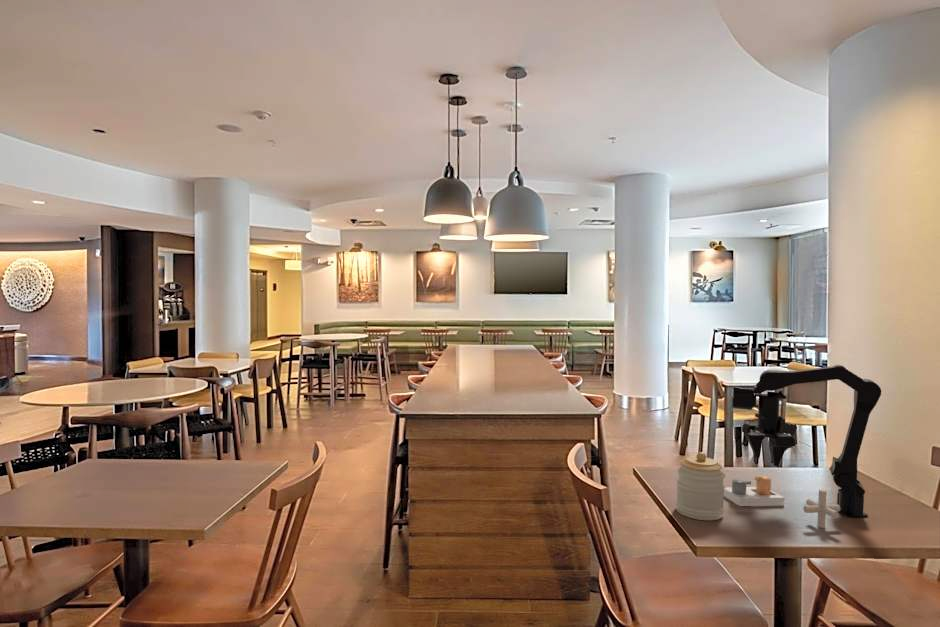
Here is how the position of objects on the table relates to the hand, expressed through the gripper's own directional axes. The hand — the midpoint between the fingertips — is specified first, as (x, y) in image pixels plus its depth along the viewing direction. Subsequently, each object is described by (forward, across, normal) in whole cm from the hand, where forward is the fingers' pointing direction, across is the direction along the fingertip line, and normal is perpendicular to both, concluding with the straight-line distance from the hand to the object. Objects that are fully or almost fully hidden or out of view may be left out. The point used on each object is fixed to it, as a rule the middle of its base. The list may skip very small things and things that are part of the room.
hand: (766, 462), depth 185 cm
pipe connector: (+12, -21, -3) cm, 24 cm away
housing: (+12, 0, +4) cm, 13 cm away
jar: (+12, -9, +26) cm, 30 cm away
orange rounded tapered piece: (+11, 0, +1) cm, 11 cm away
